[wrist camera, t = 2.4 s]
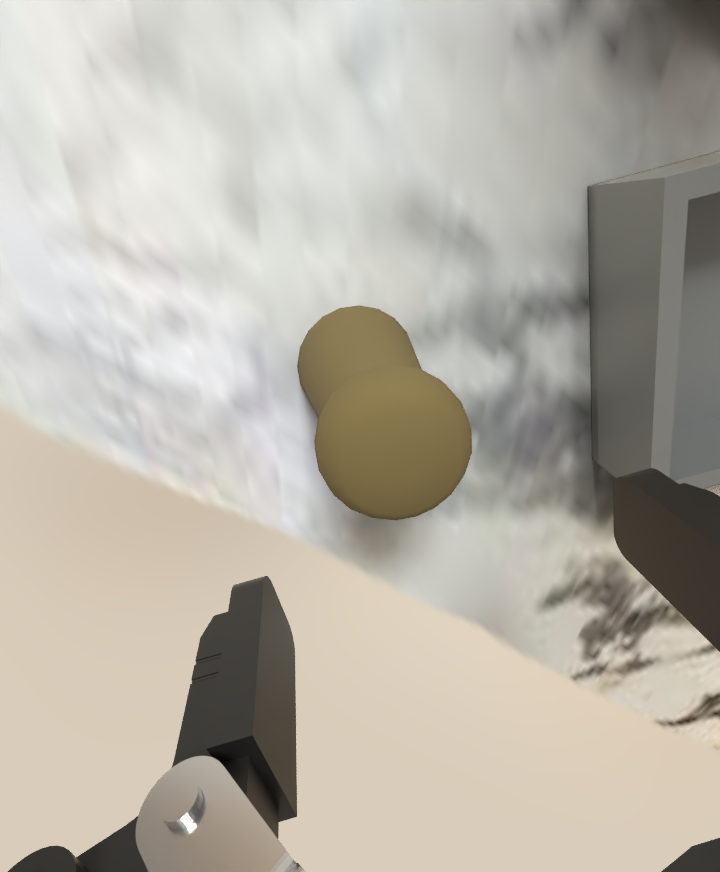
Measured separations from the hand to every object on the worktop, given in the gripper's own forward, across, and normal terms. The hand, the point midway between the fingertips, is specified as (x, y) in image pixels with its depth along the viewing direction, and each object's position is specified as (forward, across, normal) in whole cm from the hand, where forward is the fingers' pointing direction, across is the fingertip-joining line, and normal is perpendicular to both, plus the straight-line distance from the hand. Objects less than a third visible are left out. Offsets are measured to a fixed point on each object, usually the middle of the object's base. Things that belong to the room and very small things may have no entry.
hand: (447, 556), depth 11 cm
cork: (+15, 0, 0) cm, 15 cm away
